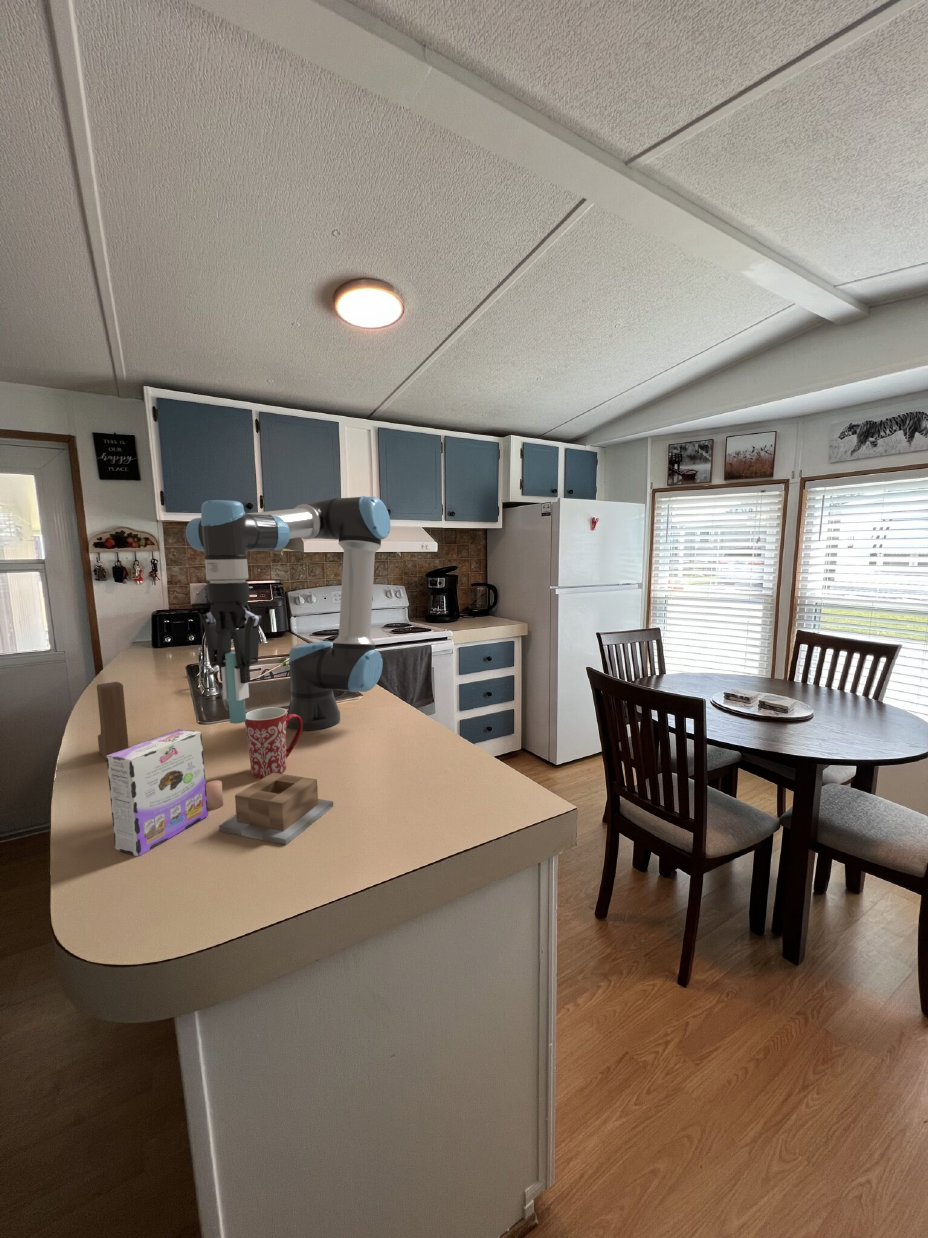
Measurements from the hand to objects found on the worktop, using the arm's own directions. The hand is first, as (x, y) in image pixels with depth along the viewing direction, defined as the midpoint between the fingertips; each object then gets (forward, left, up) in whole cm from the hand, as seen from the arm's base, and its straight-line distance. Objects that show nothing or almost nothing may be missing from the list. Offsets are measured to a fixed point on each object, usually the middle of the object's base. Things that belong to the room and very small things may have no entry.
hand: (236, 697), depth 103 cm
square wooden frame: (+7, +15, -20) cm, 26 cm away
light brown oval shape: (+7, 0, -20) cm, 21 cm away
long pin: (0, 0, -5) cm, 5 cm away
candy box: (+18, -1, -20) cm, 26 cm away
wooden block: (-6, -44, -20) cm, 49 cm away
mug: (-11, 0, -20) cm, 22 cm away
